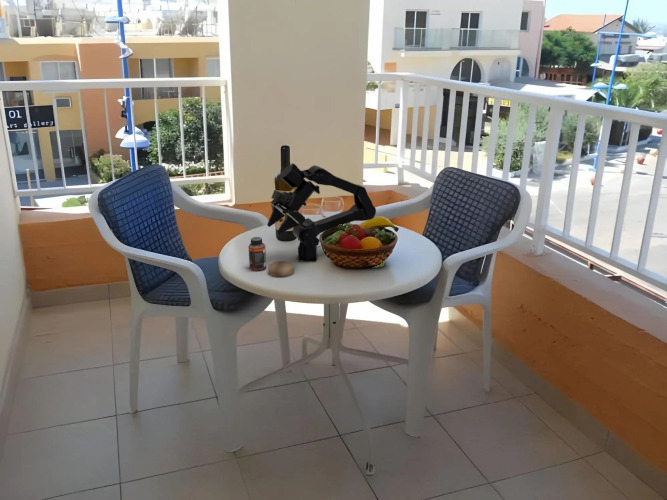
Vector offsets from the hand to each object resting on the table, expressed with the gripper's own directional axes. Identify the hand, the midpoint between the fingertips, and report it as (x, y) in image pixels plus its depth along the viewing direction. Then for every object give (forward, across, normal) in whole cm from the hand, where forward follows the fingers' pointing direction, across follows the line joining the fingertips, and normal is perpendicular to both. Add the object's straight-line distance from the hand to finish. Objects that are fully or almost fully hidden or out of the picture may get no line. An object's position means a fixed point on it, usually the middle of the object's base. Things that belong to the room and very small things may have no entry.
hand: (272, 229), depth 205 cm
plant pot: (-13, +17, +33) cm, 39 cm away
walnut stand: (+10, +8, +9) cm, 16 cm away
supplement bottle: (+14, 0, +5) cm, 15 cm away
